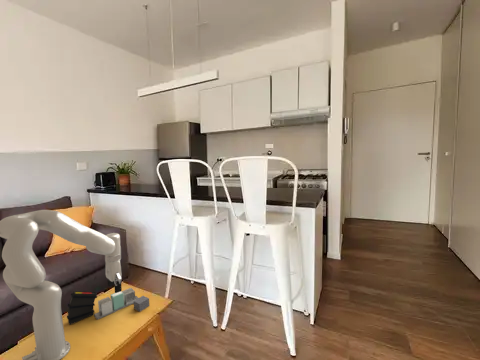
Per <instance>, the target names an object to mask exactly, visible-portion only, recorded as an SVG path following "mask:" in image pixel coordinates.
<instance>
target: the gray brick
mask: <svg viewBox="0 0 480 360" xmlns="http://www.w3.org/2000/svg"><path fill="white" fill-rule="evenodd" d="M133 302H134V303H133V309H134V310H136V311H138V312H140V313H141V312H142V311H144V310H146V309H147V308H149V307H150V298H149V297H147V296H145V295H142V296H140V297H138V299H136V300H135V301H133Z"/></svg>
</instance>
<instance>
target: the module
mask: <svg viewBox="0 0 480 360" xmlns="http://www.w3.org/2000/svg"><path fill="white" fill-rule="evenodd" d="M110 299H111V300H112V308H113V309H114V310H116V309H118V308H120V307H123V306H124V297H123V293H122V291H120V292H118V293H115V292H114V293H112V294H110Z"/></svg>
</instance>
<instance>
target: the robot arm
mask: <svg viewBox="0 0 480 360" xmlns="http://www.w3.org/2000/svg"><path fill="white" fill-rule="evenodd" d="M40 230H41V231H45V232H46V231H47V232H48V233H52V234H53V235H55V236H57V237H59V238H61V239H64V240H66V241H67V242H70V243H71V244H75V245H79V246H83V247H84V246H85V248H86V251H88V252H90V253H94V254H98V255H102V256H104V263H105V277H106V279H107V286H108V287H111V286H114V293H118V292H120V291H121V292H122V291H123V290H122V266H121V259H122V247H121V235H120V233H118V232H112V233H107V234H104V233H102V232H100V231H97V230H95V229H93V228H90V227H89V226H86V225H84V224H82V223H81V222H79V221H77V220H75V219H73V218H71V217H70V216H68V215H67V214H65V213H63V212H60V211H58V210H51V209H39V210H35V211H29V212H25V213H18V214H14V215H10V216H7V217H4V218H1V220H0V238H2V239H5V240H6V241H5V243H4V245H3V248H2V251H1V258H2V260H3V263H4V264H5V268H4V269H3V272H2V278H3V280H4V283H5V284H6V286H8V288H9V289H10V290H11V292H12V293H13V295H14V296H15V297H16V299H18V300H19V301H20V302H22V303H24V304H27V305H29V306H32V307H33V313H32V327H33V334H34V340H35V341H34V342H35V347H34V350H32V352H30V353H29V354H27V355H26V354H25V355H24V356H22V357H21V358H22V359H21V360H62V359H63V358H64V357H66V356H67V354H68V353H69V351H71V343H70V342H69V341H67V340H66V338H65V337H66V336H65V330H64V329H65V328H64V321H63V315H62V314H63V313H62V297H63V295H62V294H63V293H62V292H63V291H62V288H61V287H60V285H58V284H57V283H55V282H52V281H48V280H45V279H46V276H47V273H46V269H45V267H44V266H43V265H42V263H41V261H40V260H39V259H38V257H37V256H36V254H35V252H34V250H33V244H34V241H35V239H36V238H37V236H38V233H39V231H40Z"/></svg>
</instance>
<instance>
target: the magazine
mask: <svg viewBox="0 0 480 360" xmlns="http://www.w3.org/2000/svg"><path fill="white" fill-rule="evenodd" d="M97 295H98V293H97V292H96V291H83V290H82V291H80V290H73V291H72V292H71V293H70V298H69V299H70V300H69V303H67V307H68V308H67V309H68V310H67V315H66V318H67V322H68V325H69V326H70V325H73V324H76V323H78V322H80V321H83V320H85V319H87V318H89V317H92V316H94V314H95V310H94V306H95V305H96V304H95V300H96V299H97V298H98V296H97Z"/></svg>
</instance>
